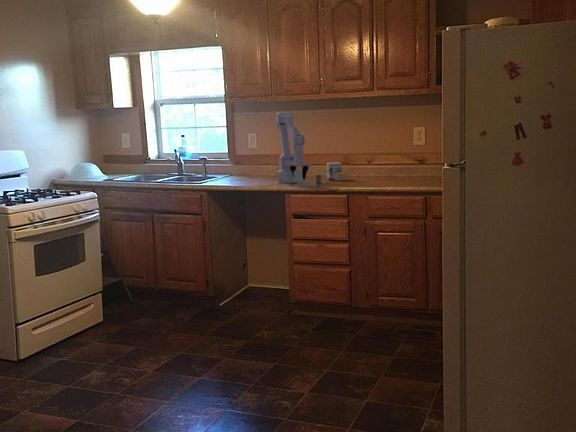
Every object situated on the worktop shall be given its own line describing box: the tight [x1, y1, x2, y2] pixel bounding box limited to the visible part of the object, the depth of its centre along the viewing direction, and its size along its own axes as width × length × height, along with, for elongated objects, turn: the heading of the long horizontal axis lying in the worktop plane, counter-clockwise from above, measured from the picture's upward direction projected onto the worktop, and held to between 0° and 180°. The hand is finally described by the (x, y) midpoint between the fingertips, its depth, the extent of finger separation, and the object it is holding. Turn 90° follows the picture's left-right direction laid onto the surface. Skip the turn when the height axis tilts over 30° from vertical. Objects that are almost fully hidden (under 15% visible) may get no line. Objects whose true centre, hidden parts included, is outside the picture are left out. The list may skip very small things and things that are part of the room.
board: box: [289, 181, 328, 188], centre depth 395 cm, size 18×20×1 cm
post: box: [315, 174, 323, 183], centre depth 397 cm, size 3×3×5 cm
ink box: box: [326, 161, 343, 182], centre depth 407 cm, size 9×5×12 cm, turn 101°
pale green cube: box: [294, 169, 306, 183], centre depth 389 cm, size 5×5×7 cm
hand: (299, 178), depth 389 cm, fingers closed on pale green cube, 5 cm apart
